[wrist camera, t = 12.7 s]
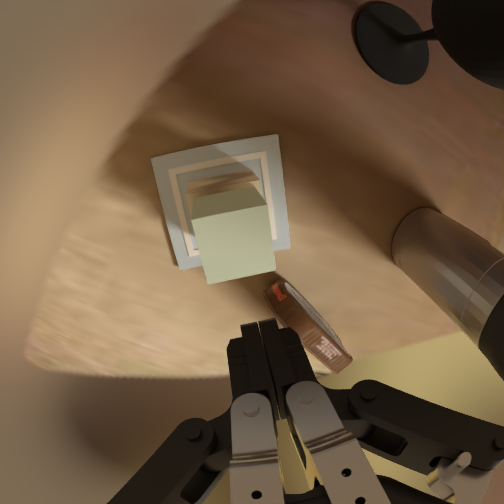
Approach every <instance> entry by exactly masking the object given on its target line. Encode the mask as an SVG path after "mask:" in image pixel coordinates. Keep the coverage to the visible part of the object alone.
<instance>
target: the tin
mask: <svg viewBox="0 0 504 504" xmlns="http://www.w3.org/2000/svg"><path fill="white" fill-rule="evenodd" d="M263 295H264V298H265V300H266V302H267V303H268V305H269V307H270V308H271V310H272V311H273V313H274V314H275V316H276V317H277V319H278V320H279V321H280V322H281V324H282V325H283V326H284V327H285V328H287V327H291V328H292V329H293V330H294V331H295V332H297V333H298V335H299V338H300V340H301V343H302V345H303V347H304V348H306V349H307V350H308V351H309V352H310V353H311V354H313V355H314V356H315V357H316V358H317V359H318V360H319V361H321V362H322V363H323V364H324V365H325V366H326V367H328V368H329V369H330V370H331V371H332V372H333V373H335V374H338V373H339V372H340V371H341V370H343V369H344V368H345V367H346V366H348V365H349V364H350V363H351V362H352V360H353V359H352V357H351V355H349V354H348V353H347V351H346V350H345V348H344V347H343V345H342V343H341V341H340V339H339V338H338V336H337V335H336V334H335V332H334V331H333V330H332V329H331V327H330V326H329V325H328V324H327V323H326V322H325V320H324V319H323V318H322V317H321V316H320V315H319V314H318V313H317V312H316V310H315V309H314V308H313V307H312V306H311V305H310V304H309V303H308V302H307V301H306V299H305V298H304V297H303V296H302V295H301V294H300V293H299V292H298V291H297V290H296V289H295V288H294V287H293V286H292V285H291V284H290V283H289V282H288V281H287V280H285V279H283V278H280V279H279V280H277V281H276V282H275V283H273V284H272V285H271V286H270V287H269V288H267V289H265V290H264V291H263Z"/></svg>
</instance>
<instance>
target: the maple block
mask: <svg viewBox="0 0 504 504" xmlns="http://www.w3.org/2000/svg"><path fill="white" fill-rule="evenodd" d="M253 186H255V187H256V189H257V190H258V192H259V193H260V195H261V196H262V190H261V183H260V179H259V178H258V177H257V176H256V175H255V174H254V172H253V171H252V170H247V171H241V172H236V173H230V174H225V175H220V176H215V177H210V178H205V179H200V180H195V181H190V182H188V186H187V192H186V197H187V201H188V206H189V210H190V214H191V217H192V205H193V198H198V197H202V196H207V195H212V194H217V193H222V192H227V191H232V190H237V189H242V188H248V187H253Z"/></svg>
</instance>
